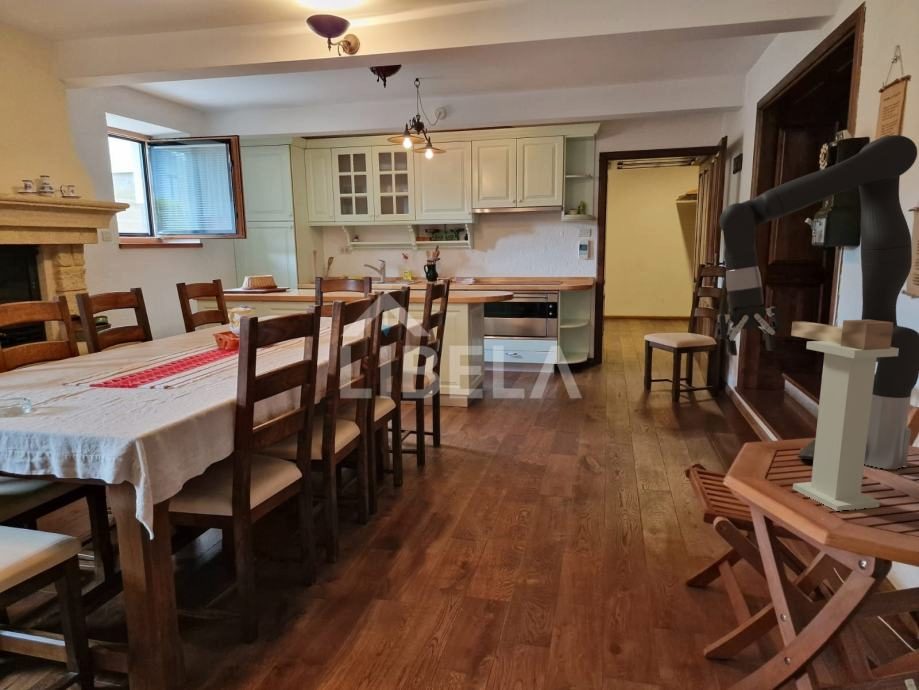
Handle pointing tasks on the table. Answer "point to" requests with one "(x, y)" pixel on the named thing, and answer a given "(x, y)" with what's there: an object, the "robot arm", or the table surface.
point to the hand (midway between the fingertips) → (752, 352)
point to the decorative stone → (808, 451)
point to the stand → (842, 426)
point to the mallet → (848, 333)
